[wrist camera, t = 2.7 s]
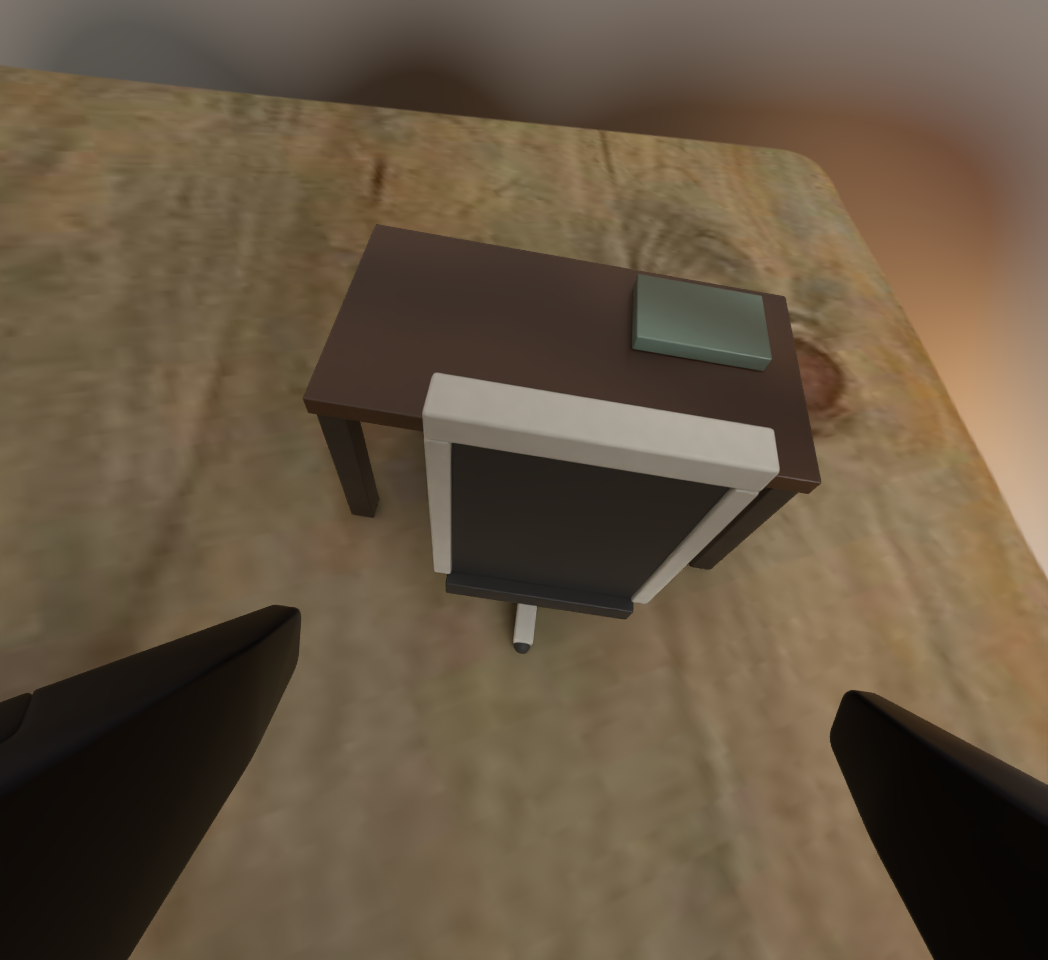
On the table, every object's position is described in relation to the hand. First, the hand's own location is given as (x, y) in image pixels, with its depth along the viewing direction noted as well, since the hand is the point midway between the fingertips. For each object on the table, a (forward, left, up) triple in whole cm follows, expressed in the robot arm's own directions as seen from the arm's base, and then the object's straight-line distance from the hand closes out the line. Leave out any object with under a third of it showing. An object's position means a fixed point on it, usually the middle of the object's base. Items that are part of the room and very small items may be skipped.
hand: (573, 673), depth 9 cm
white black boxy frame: (+4, -5, -11) cm, 13 cm away
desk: (+7, -8, -11) cm, 16 cm away
